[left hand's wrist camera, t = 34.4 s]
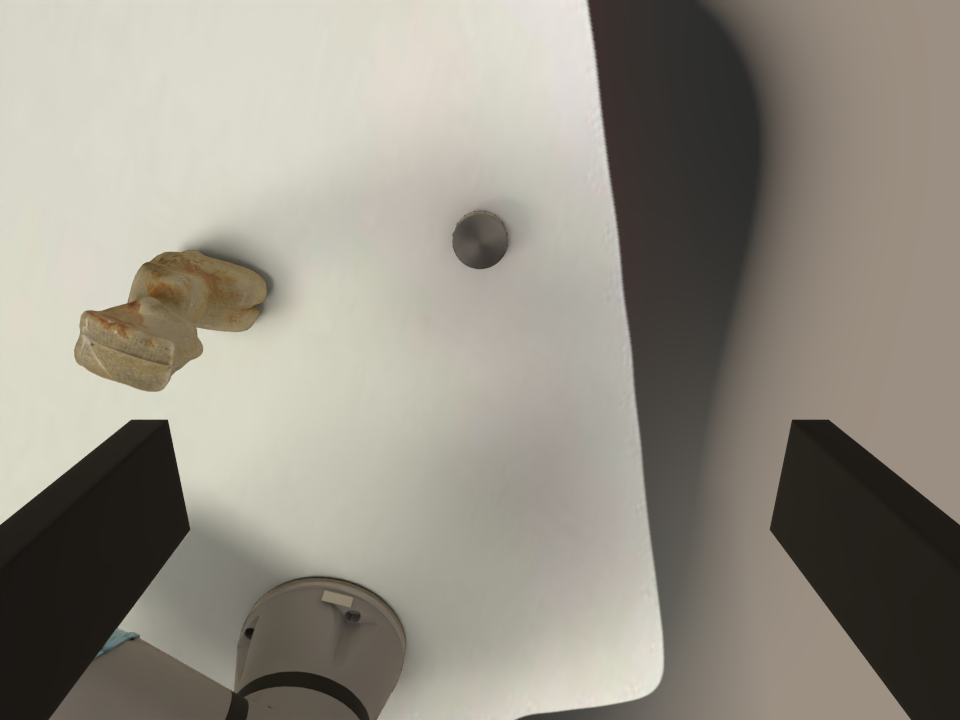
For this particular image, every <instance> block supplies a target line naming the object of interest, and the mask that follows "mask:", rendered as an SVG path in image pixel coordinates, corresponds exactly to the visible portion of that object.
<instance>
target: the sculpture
mask: <svg viewBox="0 0 960 720" xmlns="http://www.w3.org/2000/svg"><path fill="white" fill-rule="evenodd" d="M266 294H267V287H266V282H265V281H264V279H263V278H262V277H261V276H260V275H259V274H257V273H256V272H254V271H252V270H250V269H248V268H245V267H242V266H239V265H236V264H233V263H230V262H226V261H223V260H219V259H215V258H211V257H207V256H204V254H203V253H201V252H198V251H193V250H188V251H184V252H164V253H162V254H160V255H158V256H156V257H155V258H154V259H152V260H151V261H150V262H147V263H145V264H143V265H142V266H141V268H140V269H139V270H138V272H137V274H136V275H135V278H134V280H133V283H132V287H131V291H130V295H129V299H128V303H127V304H123V305H120V306H116V307H112V308H109V309H106V310H103V311H91V310H90V311H85V312H84V313H83V314H82V315H81V319H80V336H79V339H78V341H77V343H76V346H75V349H74V354H75V359H76V362H77V363H78V364H79V365H81V366H83V367H85V368H86V369H87V370H88V371H90V372H92V373H94V374H96V375H98V376H101V377H103V378H106V379H109V380H113V381H116V382H119V383H123V384H126V385H128V386H131V387H134V388H137V389H139V390H143V391H151V392H156V391H161V390H162V389H164V388H165V386H166V385H167V384H168V382H169V381H170V378H171V376H172V375H173V374H174V372H175V371H177V370H179V369H180V368H182V367H183V366H184V365H185V364H186V363H187V362H189V361H190V360H192V359H195V358H197V357H199V356H200V355H201V354H202V352H203V345H202V343H201V341H200V340H199V338H198V337H197V329H196V327H197V328H203V329H209V330H217V331H228V332H242V331H245V330H248V329H249V328H250V327H251V326H252V325H253V324H254V322H255V320H256V319H257V316H258V314H259V311H258V309H257V308H256V307H255V306H254V305H256V304H259V303H262V302H263V301H264V299H265V297H266Z"/></svg>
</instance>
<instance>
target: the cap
mask: <svg viewBox="0 0 960 720" xmlns="http://www.w3.org/2000/svg"><path fill="white" fill-rule="evenodd" d="M452 236H453V248H454V251H455V254H456V256H457V257H458V258H459V260H460V261H461V262H462V263H464V264H465V265H467V266H469V267H471V268H475V269H485V268H489V267H491V266H493V265H495V264H496V263H498V262H499V261H500V260H501V258H502V257H503V256H504V254H505V251H506V248H507V236H508V235H507V232H506V231H505V228H504V225H503V222H501V221H500V220H499V219H498V218H497V217H496V215H493V214H491V213H489V212H486V211H474V212H471V213H469V214H467V215H464V217H463V218H462V219H461V220H460V221H459V222H457V225H456V228H455V231H454V232H453V235H452Z"/></svg>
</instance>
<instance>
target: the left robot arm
mask: <svg viewBox="0 0 960 720" xmlns="http://www.w3.org/2000/svg"><path fill="white" fill-rule="evenodd" d="M189 531H190V526H189V521H188V516H187V511H186V506H185V502H184V497H183V492H182V487H181V482H180V477H179V472H178V467H177V462H176V457H175V452H174V448H173V443H172V438H171V433H170V428H169V423H168V420H131V421H129V422H128V423H127V424H126V425H124V426H123V427H122V428H121V429H119V430H118V431H117V432H116V433H114V434H113V435H112V436H111V437H109V438H108V439H107V440H106V441H104V442H103V443H102V444H101V445H99V446H98V447H97V448H96V449H94V450H93V451H92V452H91V453H89V454H88V455H87V456H86V457H84V458H83V459H82V460H81V461H79V462H78V463H77V464H76V465H74V466H73V467H72V468H71V469H69V470H68V471H67V472H66V473H64V474H63V475H62V476H61V477H59V478H58V479H57V480H56V481H55V482H53V483H52V484H51V485H50V486H48V487H47V488H46V489H45V490H43V491H42V492H41V493H40V494H38V495H37V496H36V497H35V498H33V499H32V500H31V501H30V502H28V503H27V504H26V505H25V506H23V507H22V508H21V509H20V510H18V511H17V512H16V513H15V514H13V515H12V516H11V517H10V518H8V519H7V520H6V521H5V522H3V523H2V524H1V525H0V720H377V718H378V716H379V715H380V713H381V711H382V709H383V707H384V705H385V704H386V702H387V700H388V698H389V696H390V694H391V692H392V691H393V689H394V688H395V686H396V684H397V682H398V679H399V676H400V673H401V670H402V666H403V661H404V654H405V637H404V633H403V629H402V627H401V624H400V622H399V620H398V619H397V617H396V615H395V614H394V613H393V611H392V610H391V609H390V608H389V607H388V606H387V605H386V604H385V603H384V602H383V601H382V600H381V599H379V598H378V597H377V596H375V595H374V594H372V593H371V592H369V591H367V590H365V589H364V588H361V587H359V586H357V585H354V584H351V583H348V582H344V581H341V580H335V579H327V578H307V579H300V580H296V581H291V582H288V583H285V584H283V585H280V586H278V587H276V588H274V589H272V590H271V591H269V592H268V593H266V594H265V595H264V596H263V597H262V598H260V599H259V601H258V602H257V603H256V604H255V605H254V607H253V608H252V610H251V611H250V613H249V615H248V617H247V619H246V621H245V623H244V626H243V628H242V631H241V635H240V638H239V642H238V648H237V661H236V674H235V688H234V692H233V691H231V690H229V689H227V688H226V687H224V686H222V685H220V684H219V683H217V682H215V681H213V680H212V679H210V678H208V677H206V676H205V675H203V674H201V673H199V672H198V671H196V670H194V669H192V668H191V667H189V666H187V665H185V664H184V663H182V662H180V661H178V660H177V659H175V658H173V657H171V656H170V655H168V654H166V653H165V652H163V651H161V650H159V649H158V648H156V647H154V646H152V645H151V644H149V643H147V642H145V641H144V640H142V639H140V635H138V634H137V633H133V632H129V633H127V632H125V631H123V630H121V629H119V628H117V627H118V626H119V625H120V623H121V622H122V621H123V619H124V618H125V617H126V615H127V614H128V613H129V611H130V610H131V609H132V607H133V606H134V605H135V603H136V602H137V600H138V599H139V598H140V596H141V595H142V594H143V592H144V591H145V590H146V588H147V587H148V586H149V584H150V583H151V582H152V580H153V579H154V578H155V576H156V575H157V574H158V572H159V571H160V570H161V568H162V567H163V566H164V564H165V563H166V561H167V560H168V559H169V557H170V556H171V555H172V553H173V552H174V551H175V549H176V548H177V547H178V545H179V544H180V543H181V541H182V540H183V539H184V537H185V536H186V535H187V533H188V532H189ZM770 531H771V532H772V533H773V535H774V536H775V537H776V539H777V540H778V541H779V543H780V544H781V545H782V547H783V548H784V549H785V551H786V552H787V553H788V555H789V556H790V557H791V559H792V560H793V561H794V563H795V564H796V566H797V567H798V568H799V570H800V571H801V572H802V574H803V575H804V576H805V578H806V579H807V580H808V582H809V583H810V584H811V586H812V587H813V588H814V590H815V591H816V592H817V594H818V595H819V596H820V598H821V599H822V600H823V602H824V603H825V605H826V606H827V607H828V609H829V610H830V611H831V613H832V614H833V615H834V617H835V618H836V619H837V621H838V622H839V623H840V625H841V626H842V627H843V629H844V630H845V631H846V633H847V634H848V635H849V637H850V638H851V639H852V641H853V642H854V643H855V645H856V646H857V648H858V649H859V650H860V652H861V653H862V654H863V656H864V657H865V658H866V660H867V661H868V662H869V664H870V665H871V666H872V668H873V669H874V670H875V672H876V673H877V674H878V676H879V677H880V678H881V680H882V681H883V682H884V684H885V685H886V686H887V688H888V689H889V691H890V692H891V693H892V695H893V696H894V697H895V699H896V700H897V701H898V703H899V704H900V705H901V707H902V708H903V709H904V711H905V712H906V713H907V715H908V716H909V717H910V719H911V720H960V525H959V524H958V523H957V522H955V521H954V520H953V519H951V518H950V517H949V516H948V515H947V514H945V513H944V512H943V511H942V510H940V509H939V508H938V507H937V506H935V505H934V504H933V503H932V502H930V501H929V500H928V499H927V498H925V497H924V496H923V495H922V494H920V493H919V492H918V491H917V490H915V489H914V488H913V487H912V486H910V485H909V484H908V483H907V482H905V481H904V480H903V479H902V478H900V477H899V476H898V475H897V474H896V473H894V472H893V471H892V470H890V469H889V468H888V467H887V466H886V465H884V464H883V463H882V462H881V461H879V460H878V459H877V458H876V457H874V456H873V455H872V454H871V453H869V452H868V451H867V450H866V449H864V448H863V447H862V446H861V445H859V444H858V443H857V442H856V441H854V440H853V439H852V438H851V437H849V436H848V435H847V434H846V433H844V432H843V431H842V430H841V429H839V428H838V427H837V426H836V425H834V424H833V423H832V422H831V421H829V420H792V423H791V428H790V433H789V438H788V443H787V448H786V452H785V457H784V462H783V467H782V472H781V477H780V482H779V487H778V492H777V497H776V502H775V506H774V511H773V516H772V521H771V526H770Z"/></svg>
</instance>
